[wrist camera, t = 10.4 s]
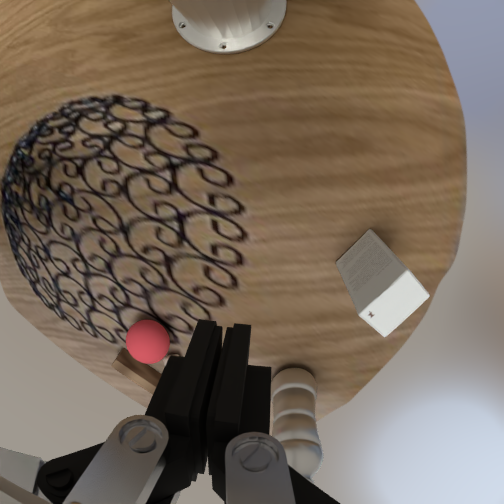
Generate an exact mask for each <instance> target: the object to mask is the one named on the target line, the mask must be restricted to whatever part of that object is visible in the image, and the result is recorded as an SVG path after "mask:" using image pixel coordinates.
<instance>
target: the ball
mask: <svg viewBox="0 0 504 504" xmlns="http://www.w3.org/2000/svg"><path fill="white" fill-rule="evenodd" d="M169 345H170V340H169V335H168V333H167V331H166V330H165V328H164V327H163V326H162V325H161V324H159V323H158V322H156V321H153V320H141V321H138V322H136V323H135V324H133V325H132V326H131V328H130V329H129V331H128V333H127V336H126V346H127V349H128V351H129V353H130V354H131V356H132V357H133V358H134V359H136V360H137V361H139V362H142V363H146V364H152V363H156V362H158V361H160V360H162V359H163V358H164V357H165V355H166V354H167V352H168V350H169Z"/></svg>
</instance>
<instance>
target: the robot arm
mask: <svg viewBox="0 0 504 504" xmlns="http://www.w3.org/2000/svg"><path fill="white" fill-rule="evenodd" d="M169 1H170V2H171V3H172V18H173V23H174V25H175V27H176V29H177V31H178V32H179V33H180V35H181V36H182V37H183V38H184V39H185V40H186V41H187V42H188V43H190V44H191V45H193V46H194V47H196V48H198V49H201V50H203V51H206V52H210V53H215V54H234V53H240V52H244V51H248V50H250V49H253V48H255V47H257V46H259V45H261V44H262V43H264V42H265V41H267V40H268V39H269V38H270V37H271V36H273V35H274V34H275V33H276V31H277V30H278V28H279V27H280V26H281V24H282V21H283V19H284V17H285V12H286V0H169ZM183 26H186V27H184V28H182V27H183ZM269 26H272V27H273V28H271V29H270V28H268V27H269ZM223 46H227V47H226V49H222V47H223ZM250 335H251V325H246V324H236V323H234V327H233V328H231V327H227V330H226V334H225V338H224V343H223V347H222V326H217V323H216V321H209V320H200V319H199V321H198V323H197V326H196V328H195V331H194V333H193V336H192V339H191V341H190V344H189V347H188V349H187V352H186V355H185V357H180V356H173V355H171V356H170V357H169V359H168V361H167V363H166V365H165V368H164V370H163V373H162V375H161V377H160V380H159V382H158V384H157V387H156V389H155V391H154V394H153V396H152V399H151V401H150V403H149V406H148V408H147V411H146V413H145V415H134V416H131V417H127V418H126V419H124V420H122V421H121V422H120V423H119V424H118V425H117V426H116V427H115V428H114V430H113V431H112V433H111V434H110V435H109V437H108V439H107V440H106V441H105V442H103V443H101V444H98V445H95V446H92V447H89V448H86V449H83V450H80V451H77V452H74V453H71V454H68V455H65V456H62V457H59V458H56V459H52V460H50V461H48V462H46V461H43V460H42V459H41V458H40V457H35V456H31V455H27V454H23V453H19V452H15V451H12V450H8V449H5V448H1V447H0V504H176V502H177V500H178V498H179V496H180V491H181V490H183V489H185V488H187V487H189V486H190V485H191V481H196V479H197V474H198V473H200V474H204V472H205V467H206V462H207V457H208V467H209V475H212V486H213V490H214V491H215V492H216V493H217V494H218V495H219V496H220V497H221V498H222V500H223V501H224V504H340V503H339V502H337V501H336V500H335V499H333V498H332V497H330V496H329V495H328V494H326V493H325V492H323V491H322V490H321V489H319V488H318V487H317V486H315V485H314V484H313V483H311V482H310V481H309V480H307V479H306V478H305V477H303V476H302V475H301V474H300V473H298V472H297V471H296V470H295V469H293V468H292V467H291V466H290V465H288V463H287V457H286V452H285V450H284V448H283V445H282V444H281V443H280V442H279V441H278V440H277V439H275V438H274V437H272V436H271V435H269V428H270V401H271V367H265V366H253V365H248V358H249V346H250Z"/></svg>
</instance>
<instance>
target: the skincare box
mask: <svg viewBox="0 0 504 504" xmlns="http://www.w3.org/2000/svg"><path fill="white" fill-rule="evenodd" d="M336 265H337V268H338V270H339V272H340V274H341V276H342V278H343V281H344V283H345V285H346V288H347V290H348V292H349V294H350V296H351V299H352V301H353V303H354V305H355V308H356V310H357V313H358V315H359V316H360V317H361V318H362V319H364V320H365V321H366V322H367V323H368V324H369V325H371V326H372V327H373V328H374V329H375V330H376V331H378V332H379V333H380V334H381V335H382V336H383V337H386V336H387V335H388V334H390V333H391V332H392V331H393V330H394V329H395V328H396V327H397V326H399V325H400V324H401V323H402V322H403V321H404V320H405V319H406V318H407V317H408V316H410V315H411V314H412V313H413V312H414V311H415V310H416V309H417V308H418V307H419V306H420V305H421V304H422V303H423V302H424V301H425V300H426V299H427V298H429V297H430V295H429V293H428V292H427V290H426V289H425V288H424V287H423V285H422V284H421V283H420V282H419V281H418V279H417V278H416V277H415V276H414V275H413V273H412V272H411V271H410V270H409V269H408V268H407V267H406V266H405V265H404V264H403V263H402V261H401V260H400V259H399V258H398V257H397V256H396V255H395V254H394V253H393V252H392V251H391V250H390V249H389V248H388V246H387V245H386V244H385V243H384V242H383V241H382V240H381V239H380V238H379V237H378V236H377V235H376V234H375V233H374V232H373V231H372V230H371V229H369V230H368V231H367V232H366V233H365V234H364V235H363V236H362V237H361V238H360V239H359V240H358V241H357V242H356V243H355V244H354V245H353V246H352V247H351V248H350V249H349V250H348V251H347V252H346V253H345V254H344V255H343V256H342V257H341V258H340V259H339V260H338V261H336Z"/></svg>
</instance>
